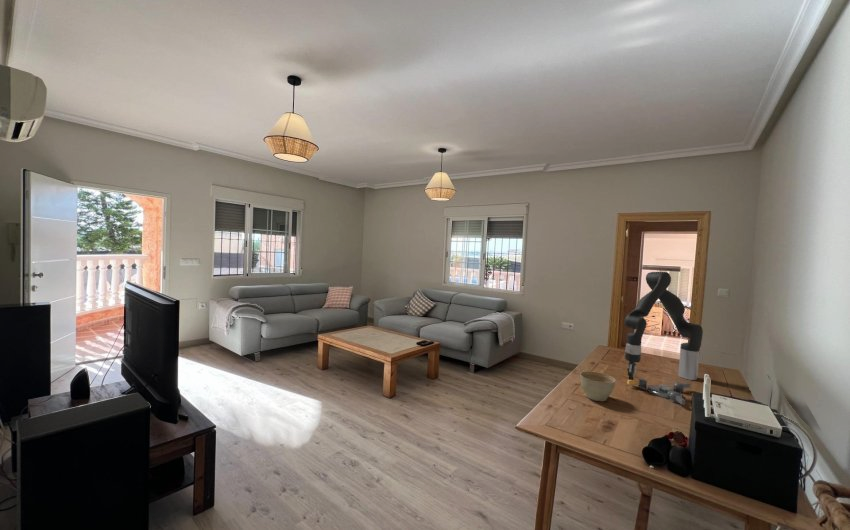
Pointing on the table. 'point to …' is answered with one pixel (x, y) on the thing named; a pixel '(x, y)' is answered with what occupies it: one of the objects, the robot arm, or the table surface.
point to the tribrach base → (661, 391)
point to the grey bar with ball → (681, 386)
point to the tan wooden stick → (638, 382)
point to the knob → (676, 397)
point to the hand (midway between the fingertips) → (630, 382)
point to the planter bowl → (597, 385)
